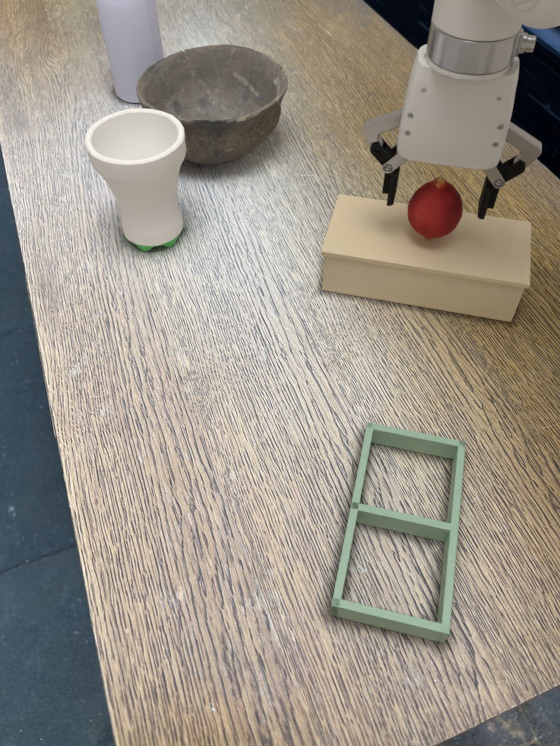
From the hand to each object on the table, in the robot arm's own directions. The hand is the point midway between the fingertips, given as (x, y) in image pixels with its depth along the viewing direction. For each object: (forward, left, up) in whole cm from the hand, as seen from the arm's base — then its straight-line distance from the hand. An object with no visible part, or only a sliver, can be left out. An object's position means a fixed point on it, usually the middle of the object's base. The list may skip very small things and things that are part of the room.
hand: (435, 204), depth 70 cm
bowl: (+32, -21, -11) cm, 40 cm away
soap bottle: (+49, -33, -11) cm, 60 cm away
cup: (+34, 0, -11) cm, 36 cm away
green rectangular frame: (-2, +33, -11) cm, 35 cm away
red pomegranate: (0, 0, -5) cm, 5 cm away
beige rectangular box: (0, 0, -11) cm, 11 cm away
